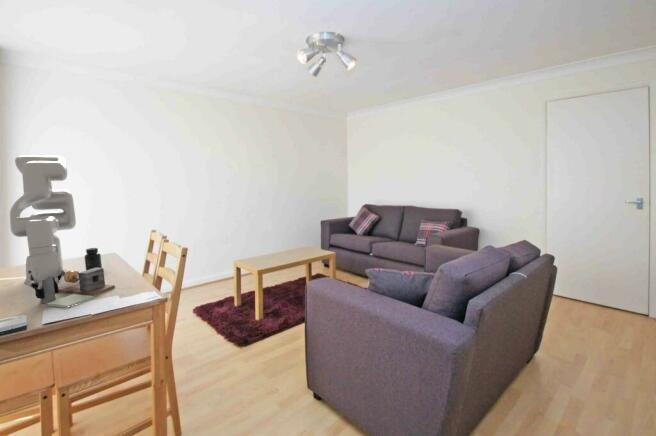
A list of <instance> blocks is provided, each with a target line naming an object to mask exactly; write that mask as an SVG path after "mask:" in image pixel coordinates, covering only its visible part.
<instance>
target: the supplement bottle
mask: <svg viewBox="0 0 656 436" xmlns="http://www.w3.org/2000/svg"><path fill="white" fill-rule="evenodd" d="M85 250H86V251H85V252H86V253H85V255H84V258H83V259H84V264H85V265H84V266H85V271H86V270H90V269H93V268H103V266H102V265H103V264H102V256H101V253H99V250H98V247H90V248H86V249H85Z"/></svg>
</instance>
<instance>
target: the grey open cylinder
mask: <svg viewBox="0 0 656 436" xmlns="http://www.w3.org/2000/svg"><path fill="white" fill-rule="evenodd" d="M42 288H43V289H44V298H43V299H39V300H40V303H41V304H47V303H50V302H52V301H55V300H57V298H56V294H55V289H54V281H53V277H52V276H49V277H48V278H47V279H45V280H43V281H42Z"/></svg>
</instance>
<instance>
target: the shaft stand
mask: <svg viewBox="0 0 656 436" xmlns="http://www.w3.org/2000/svg"><path fill="white" fill-rule="evenodd" d="M78 275H79V280H78V281H77V282H75V283H70V282H69V283H67V284H64V285H61V286H58V289H59V290H58V292H59V293H58V294H60V293H61V294H69V295H72V294H78V295H88V296H93V297H96V296H97V295H100V294H103V293H106V292H109V291H111V290H113V289H115V286H116V285H114V284H106V280H105V271H104V268H103V267H102V268H93V269H90V270H86V269H85V270H84V271H79V273H78ZM92 277H93V278H92Z"/></svg>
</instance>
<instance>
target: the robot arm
mask: <svg viewBox="0 0 656 436" xmlns="http://www.w3.org/2000/svg"><path fill="white" fill-rule="evenodd" d="M14 159H15V160H14V163H15V166H16V168H17V170H18V171H19V172H20V174H21V175H22V187H23V194H22V195H21V196H20V197H18V198H17V200H16V201H14V203H13V205H12V206H11V208H10V212H9V223H10V232H11V233H12V235H14V236H15V237H18V238H21V237H22V238H24V237H26V239H27V247H28V254H29V255H27V256H26V260H25V277H26V279H25V280H24V282H23V285H25V286H28V287H31V288H32V289H33V290H34V292H35V294H34V295H35V297H36V299H39V300H40V299H43V298H44V289H43V288H42V281H43V280H45V279H47V278H48V277H49V276H52V277H53V281H54V289H55V295H58V294H60V293H59V292H58V290H59V289H58V287H59V283H60V281H61V279H62V277H64V274H65V273H66V272H67V271H68V270H67V269H64V266H63V265H64V264H63V256H62V248H61V241H60V238H59V237H58V236H57V235H56V234H55V233H57V232H58V231H65V230H72V229H74V228H75V227H76V224H77V220H76V212H75V205H74V197H73V195H72V193H71V191H70V190H68V189H53V186H52V185H53V184H52V182H59V181H61V182H62V181H65V180H67V177H68V167H67V161H66V159H65V158H64V157H63V156H61V155H39V154H38V155H37V154H35V155H34V154H31V155H30V154H25V155H19V156H17V157H15V158H14ZM29 207H31V208H32V209H34V210H37V211H40V212H35V213H32V214H31V215H30V216H27V217H20V216H21V213H22V212H23V211H25V209H27V208H29ZM47 210H54V211H47ZM55 210H58V211H55ZM32 281H33V282H32Z"/></svg>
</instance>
